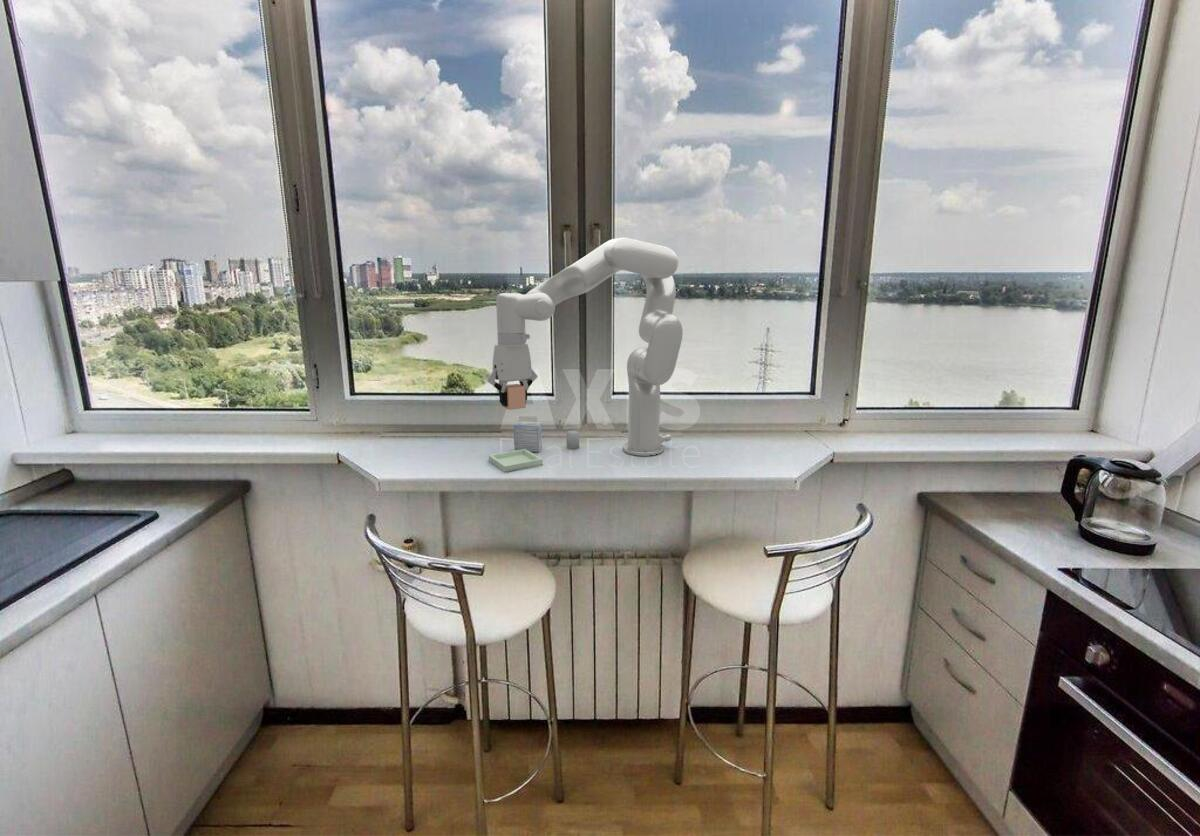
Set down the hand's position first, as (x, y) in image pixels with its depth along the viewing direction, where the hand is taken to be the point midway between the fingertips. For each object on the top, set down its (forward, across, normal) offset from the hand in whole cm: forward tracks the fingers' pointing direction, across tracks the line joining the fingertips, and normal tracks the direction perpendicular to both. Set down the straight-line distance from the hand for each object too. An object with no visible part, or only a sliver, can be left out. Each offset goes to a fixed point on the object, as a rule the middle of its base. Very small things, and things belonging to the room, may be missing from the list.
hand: (513, 403), depth 158 cm
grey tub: (+18, -22, -4) cm, 28 cm away
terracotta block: (+1, 0, 0) cm, 1 cm away
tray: (+18, 0, 0) cm, 18 cm away
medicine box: (+18, -8, -9) cm, 22 cm away
